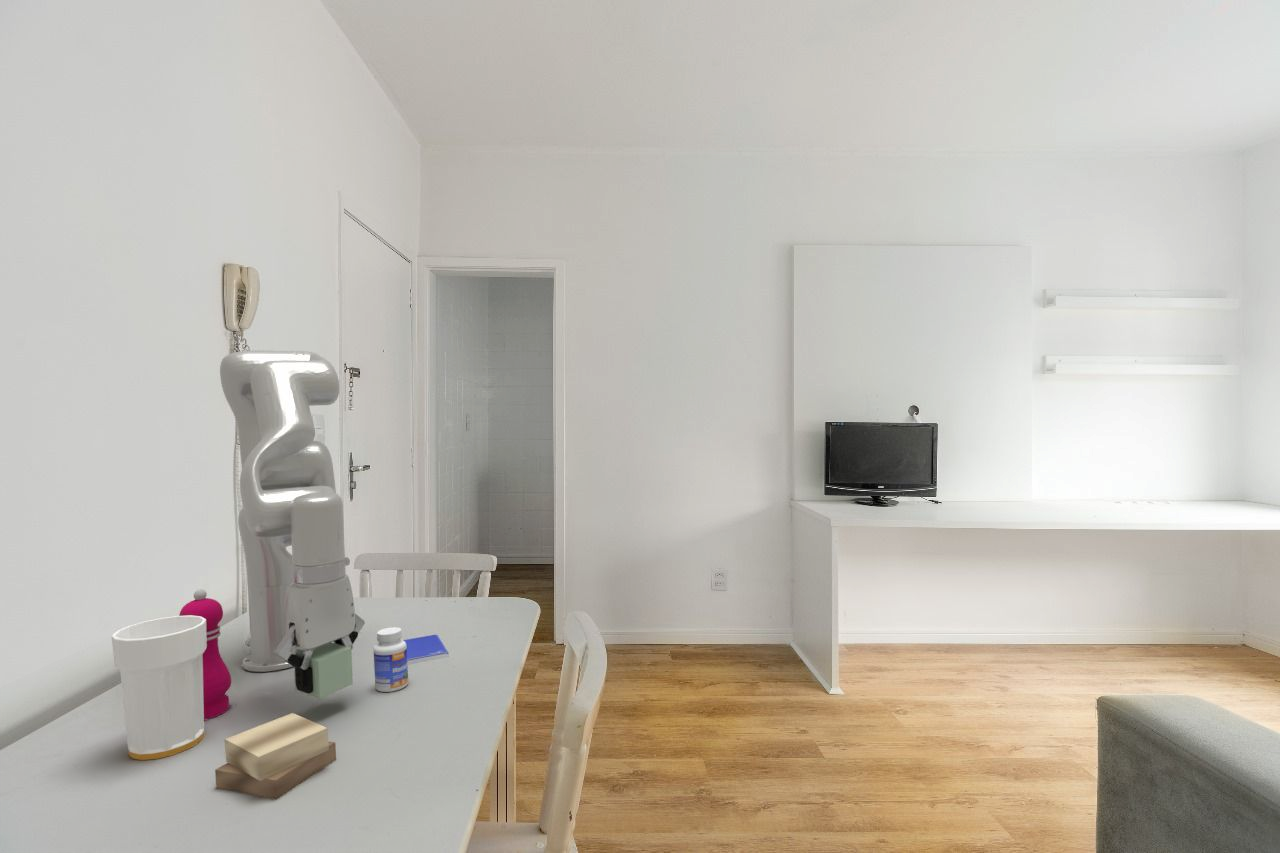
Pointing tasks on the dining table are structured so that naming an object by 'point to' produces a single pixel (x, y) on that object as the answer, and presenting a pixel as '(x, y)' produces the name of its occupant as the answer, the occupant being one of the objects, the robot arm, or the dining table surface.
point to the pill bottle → (390, 660)
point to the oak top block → (276, 745)
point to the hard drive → (425, 649)
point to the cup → (162, 684)
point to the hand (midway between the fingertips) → (323, 681)
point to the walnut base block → (273, 776)
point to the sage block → (330, 669)
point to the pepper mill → (211, 655)
